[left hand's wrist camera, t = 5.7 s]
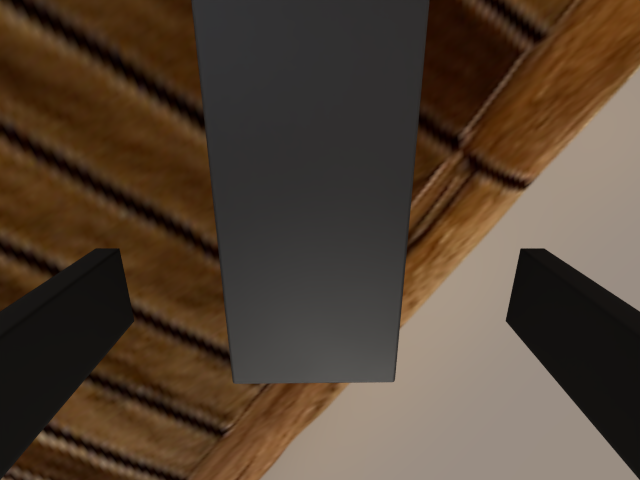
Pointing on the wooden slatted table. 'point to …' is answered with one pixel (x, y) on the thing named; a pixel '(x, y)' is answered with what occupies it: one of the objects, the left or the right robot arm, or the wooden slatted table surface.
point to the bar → (311, 179)
